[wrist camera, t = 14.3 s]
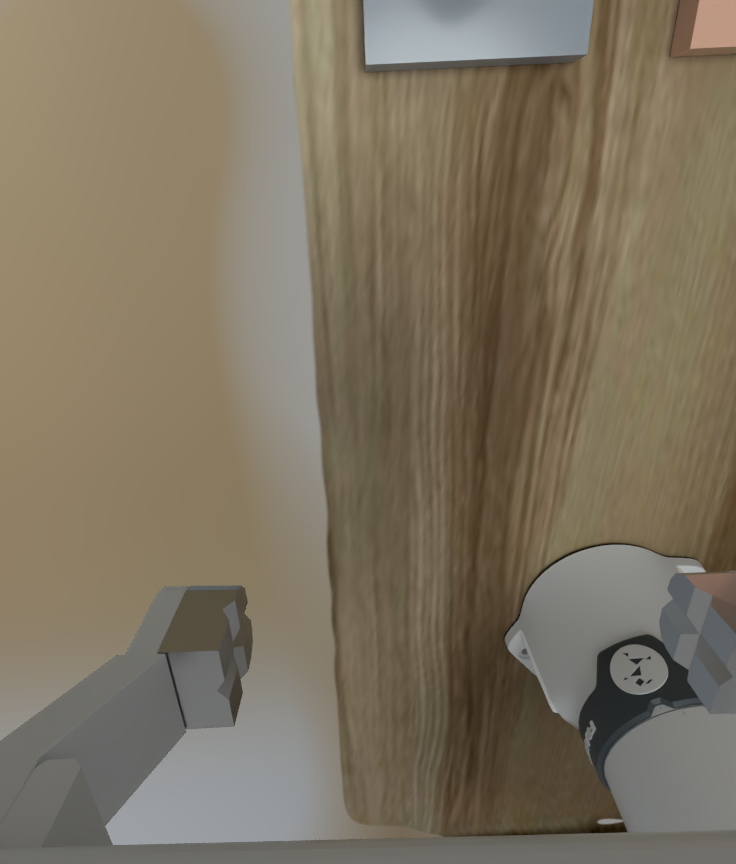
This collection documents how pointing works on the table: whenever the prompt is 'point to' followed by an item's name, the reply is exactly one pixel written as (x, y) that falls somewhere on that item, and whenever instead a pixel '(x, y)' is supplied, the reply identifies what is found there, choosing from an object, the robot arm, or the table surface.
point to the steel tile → (473, 33)
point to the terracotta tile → (705, 28)
